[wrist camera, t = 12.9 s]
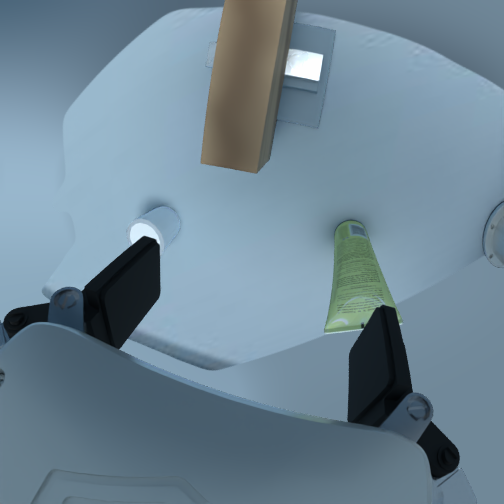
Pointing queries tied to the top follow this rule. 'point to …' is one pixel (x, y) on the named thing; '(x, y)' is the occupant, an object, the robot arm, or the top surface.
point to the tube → (355, 281)
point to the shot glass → (155, 227)
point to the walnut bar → (247, 83)
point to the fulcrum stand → (302, 74)
